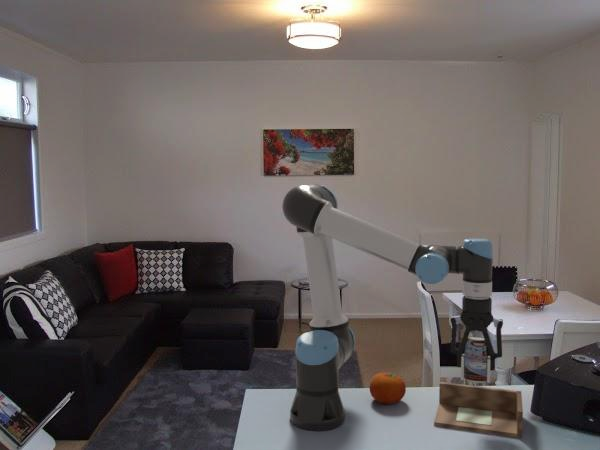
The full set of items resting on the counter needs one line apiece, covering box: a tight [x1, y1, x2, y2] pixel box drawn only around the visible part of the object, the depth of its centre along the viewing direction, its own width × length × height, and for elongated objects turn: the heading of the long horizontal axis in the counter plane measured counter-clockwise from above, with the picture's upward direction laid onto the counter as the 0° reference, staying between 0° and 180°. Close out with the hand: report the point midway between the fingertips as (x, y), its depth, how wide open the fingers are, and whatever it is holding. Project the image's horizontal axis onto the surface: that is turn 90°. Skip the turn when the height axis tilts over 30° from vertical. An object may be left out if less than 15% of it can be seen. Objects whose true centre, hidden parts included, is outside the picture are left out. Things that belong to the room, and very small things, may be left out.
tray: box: [433, 381, 524, 439], centre depth 153 cm, size 22×14×7 cm, turn 70°
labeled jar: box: [463, 336, 489, 384], centre depth 152 cm, size 6×7×12 cm
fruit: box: [369, 372, 407, 405], centre depth 166 cm, size 11×10×8 cm
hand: (475, 379), depth 152 cm, fingers closed on labeled jar, 6 cm apart
